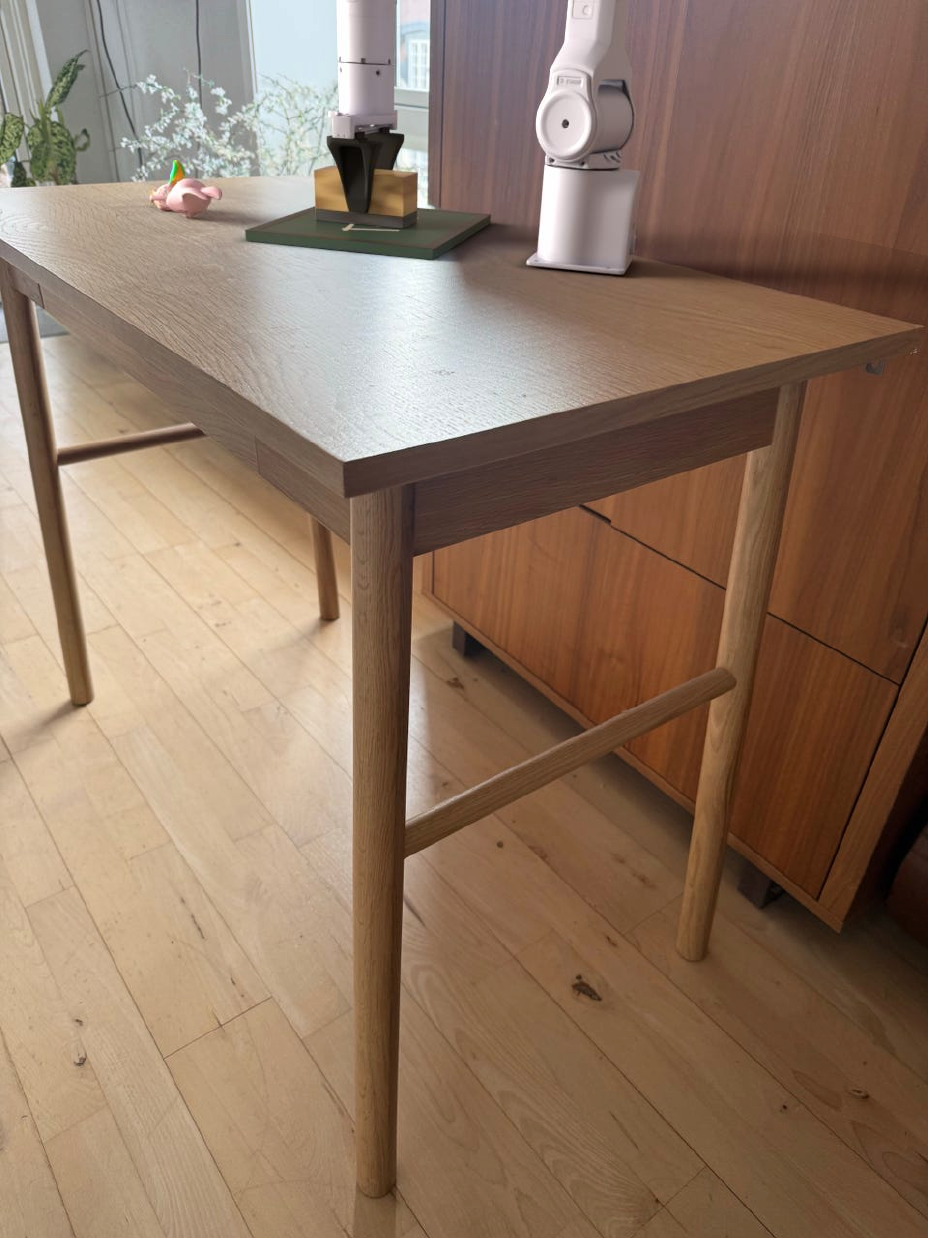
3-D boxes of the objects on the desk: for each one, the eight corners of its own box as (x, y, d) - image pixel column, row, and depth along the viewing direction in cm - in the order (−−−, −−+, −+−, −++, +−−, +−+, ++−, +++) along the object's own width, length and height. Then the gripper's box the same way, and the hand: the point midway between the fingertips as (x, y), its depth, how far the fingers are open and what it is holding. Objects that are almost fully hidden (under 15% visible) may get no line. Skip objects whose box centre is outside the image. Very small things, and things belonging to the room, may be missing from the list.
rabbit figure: (139, 220, 109) (188, 217, 98) (129, 163, 107) (177, 154, 96) (190, 217, 113) (242, 214, 101) (181, 162, 110) (234, 153, 99)
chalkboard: (490, 223, 111) (491, 214, 110) (433, 259, 91) (433, 248, 90) (333, 208, 115) (333, 199, 114) (245, 240, 95) (244, 229, 94)
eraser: (417, 221, 103) (418, 172, 101) (403, 228, 99) (403, 177, 96) (332, 214, 105) (331, 165, 103) (315, 220, 101) (313, 169, 98)
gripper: (354, 60, 101) (356, 196, 108) (300, 61, 89) (306, 214, 96) (416, 64, 100) (413, 201, 107) (370, 65, 88) (371, 220, 95)
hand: (367, 208), depth 102 cm, fingers closed on eraser, 5 cm apart
